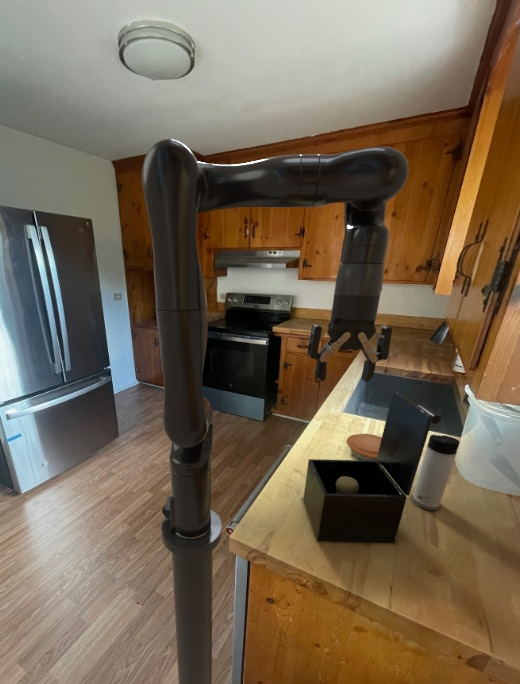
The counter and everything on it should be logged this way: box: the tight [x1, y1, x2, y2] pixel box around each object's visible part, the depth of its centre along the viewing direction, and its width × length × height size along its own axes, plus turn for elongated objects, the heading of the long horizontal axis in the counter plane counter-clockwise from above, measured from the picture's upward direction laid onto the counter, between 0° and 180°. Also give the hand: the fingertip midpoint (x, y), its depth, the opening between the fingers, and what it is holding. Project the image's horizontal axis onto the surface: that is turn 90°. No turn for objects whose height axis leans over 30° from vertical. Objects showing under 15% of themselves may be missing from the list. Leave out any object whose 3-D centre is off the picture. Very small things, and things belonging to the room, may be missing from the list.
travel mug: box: [412, 434, 461, 511], centre depth 84 cm, size 6×7×20 cm
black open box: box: [302, 458, 408, 544], centre depth 80 cm, size 18×15×13 cm
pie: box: [346, 433, 382, 462], centre depth 111 cm, size 15×16×5 cm
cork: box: [336, 476, 359, 494], centre depth 80 cm, size 6×6×11 cm
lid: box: [377, 390, 442, 496], centre depth 73 cm, size 19×15×6 cm
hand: (342, 380), depth 63 cm, fingers open, 8 cm apart
